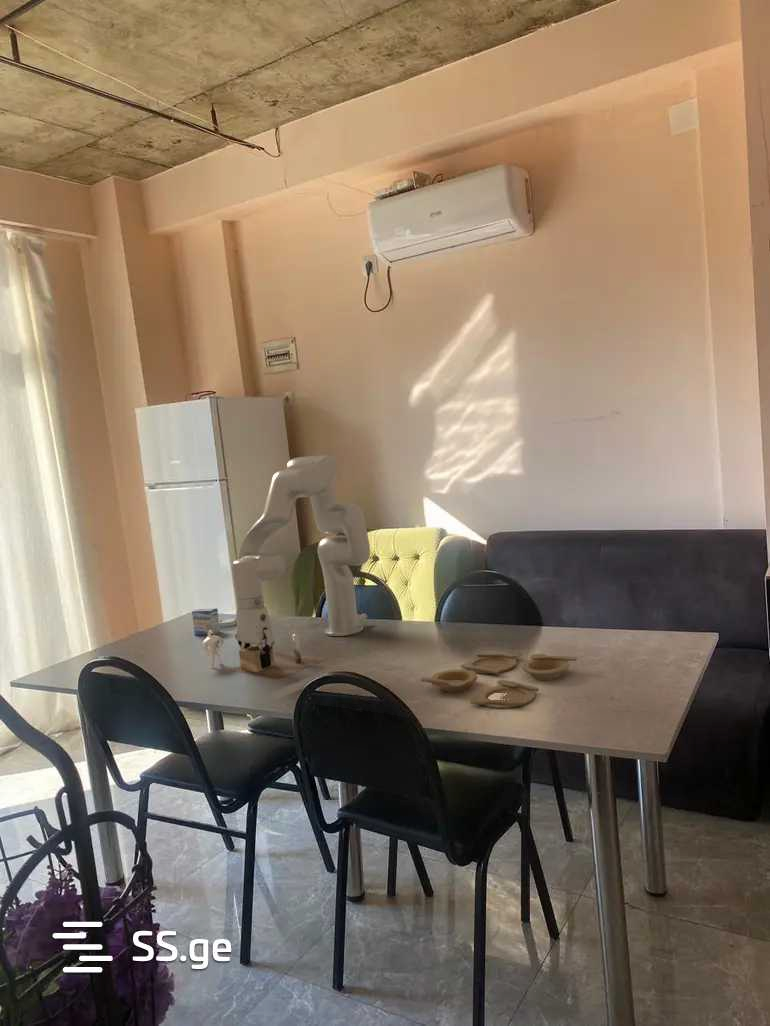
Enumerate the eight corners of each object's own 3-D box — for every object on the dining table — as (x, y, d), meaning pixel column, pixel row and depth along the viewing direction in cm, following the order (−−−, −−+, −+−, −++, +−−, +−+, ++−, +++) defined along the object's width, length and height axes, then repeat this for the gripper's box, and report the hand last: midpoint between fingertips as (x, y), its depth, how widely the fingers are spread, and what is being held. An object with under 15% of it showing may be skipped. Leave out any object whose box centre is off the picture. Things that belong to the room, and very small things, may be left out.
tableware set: (485, 655, 207) (484, 641, 207) (585, 668, 188) (584, 652, 188) (407, 698, 180) (406, 681, 180) (515, 717, 162) (513, 699, 161)
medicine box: (194, 635, 263) (191, 611, 262) (200, 632, 267) (197, 608, 266) (214, 635, 261) (211, 610, 260) (220, 631, 265) (217, 607, 264)
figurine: (210, 675, 214) (204, 634, 212) (201, 673, 217) (196, 632, 215) (230, 668, 219) (225, 627, 218) (222, 666, 222) (217, 626, 221)
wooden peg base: (278, 656, 225) (275, 625, 224) (326, 664, 213) (322, 631, 212) (231, 675, 212) (226, 642, 211) (279, 684, 199) (274, 649, 198)
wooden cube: (259, 662, 216) (256, 643, 216) (274, 665, 212) (272, 646, 211) (241, 669, 211) (238, 650, 211) (256, 672, 207) (254, 653, 206)
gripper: (281, 601, 207) (288, 664, 209) (240, 597, 218) (248, 658, 220) (260, 608, 201) (268, 673, 203) (219, 603, 212) (227, 665, 214)
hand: (257, 664), depth 211 cm, fingers closed on wooden cube, 6 cm apart
